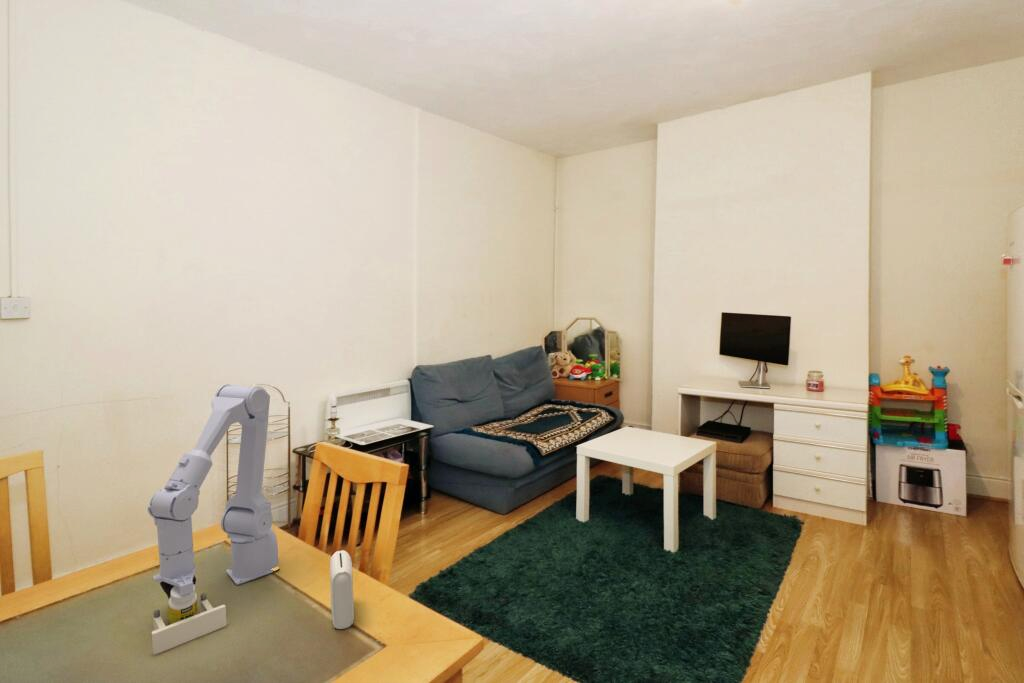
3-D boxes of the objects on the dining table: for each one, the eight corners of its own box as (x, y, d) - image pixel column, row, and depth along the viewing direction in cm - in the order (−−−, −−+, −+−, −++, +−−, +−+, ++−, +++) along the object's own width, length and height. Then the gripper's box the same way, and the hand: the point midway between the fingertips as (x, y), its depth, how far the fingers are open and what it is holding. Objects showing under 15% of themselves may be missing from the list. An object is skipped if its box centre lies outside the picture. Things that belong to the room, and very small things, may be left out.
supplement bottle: (181, 637, 101) (180, 603, 98) (162, 627, 102) (161, 593, 99) (202, 619, 105) (203, 586, 102) (184, 610, 106) (184, 576, 104)
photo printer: (330, 602, 111) (328, 546, 110) (352, 598, 113) (350, 543, 112) (332, 632, 102) (329, 571, 101) (355, 627, 103) (353, 567, 102)
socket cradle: (214, 608, 109) (213, 589, 109) (226, 625, 104) (225, 606, 103) (145, 634, 101) (143, 614, 101) (154, 655, 95) (152, 634, 95)
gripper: (144, 542, 106) (148, 606, 108) (160, 569, 96) (165, 640, 97) (184, 531, 111) (188, 592, 113) (204, 556, 101) (207, 623, 102)
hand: (180, 613), depth 105 cm, fingers closed, pressing on supplement bottle
